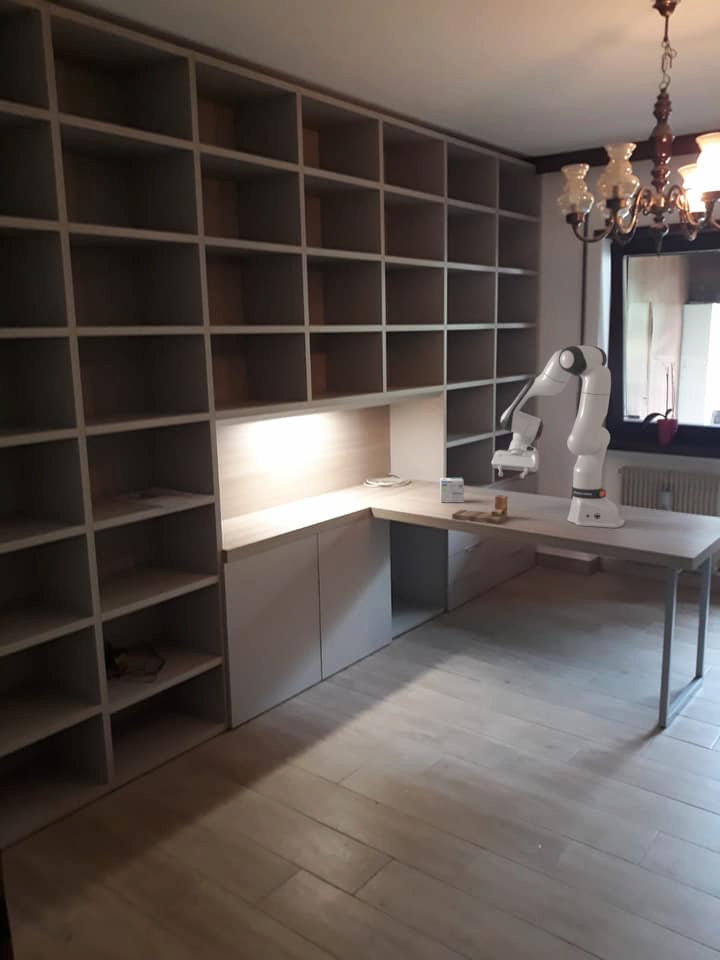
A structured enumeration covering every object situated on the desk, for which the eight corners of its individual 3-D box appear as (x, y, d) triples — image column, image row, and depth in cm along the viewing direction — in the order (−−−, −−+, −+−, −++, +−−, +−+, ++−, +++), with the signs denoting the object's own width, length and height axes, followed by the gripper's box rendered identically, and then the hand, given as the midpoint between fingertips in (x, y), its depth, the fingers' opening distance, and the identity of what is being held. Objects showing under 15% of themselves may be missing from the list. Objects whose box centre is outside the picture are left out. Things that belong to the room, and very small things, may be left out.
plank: (505, 519, 326) (505, 514, 325) (497, 524, 317) (498, 519, 317) (461, 514, 335) (461, 509, 335) (452, 518, 327) (452, 514, 326)
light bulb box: (462, 500, 363) (462, 477, 361) (463, 503, 356) (464, 480, 354) (439, 500, 363) (439, 477, 361) (440, 503, 356) (440, 480, 354)
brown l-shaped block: (506, 516, 330) (507, 495, 328) (499, 521, 322) (500, 500, 320) (497, 515, 332) (498, 495, 330) (490, 520, 324) (490, 499, 322)
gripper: (494, 445, 346) (486, 470, 340) (539, 448, 336) (532, 474, 330) (497, 453, 351) (489, 478, 344) (542, 457, 341) (534, 483, 335)
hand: (510, 476), depth 337 cm, fingers open, 8 cm apart
